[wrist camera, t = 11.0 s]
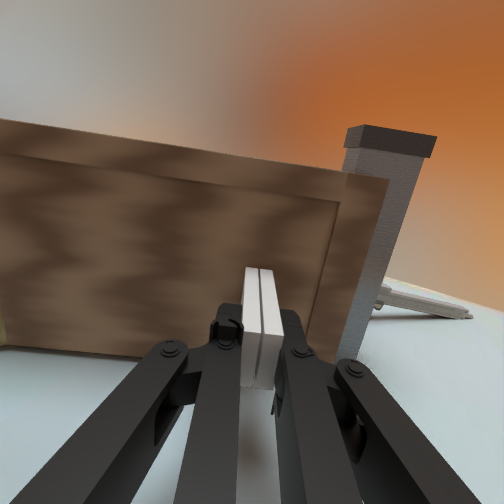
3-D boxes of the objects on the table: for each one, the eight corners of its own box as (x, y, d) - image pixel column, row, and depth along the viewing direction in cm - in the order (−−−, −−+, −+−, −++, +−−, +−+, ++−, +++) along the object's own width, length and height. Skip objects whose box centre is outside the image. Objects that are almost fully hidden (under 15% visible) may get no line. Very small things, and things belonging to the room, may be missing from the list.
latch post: (302, 362, 22) (364, 124, 16) (296, 339, 24) (348, 128, 18) (356, 368, 22) (437, 136, 16) (345, 345, 24) (410, 138, 19)
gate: (-24, 344, 18) (-80, 106, 13) (1, 326, 20) (-40, 112, 15) (329, 377, 20) (390, 179, 15) (321, 357, 22) (374, 176, 17)
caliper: (318, 324, 28) (334, 266, 25) (314, 318, 29) (328, 261, 26) (472, 320, 33) (495, 272, 31) (463, 315, 34) (485, 268, 32)
